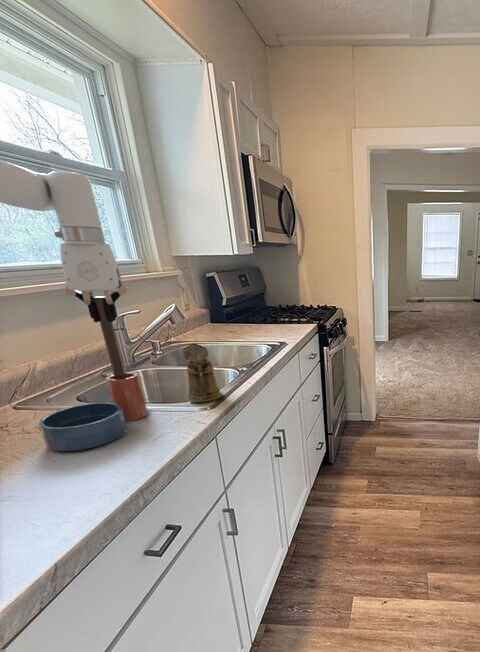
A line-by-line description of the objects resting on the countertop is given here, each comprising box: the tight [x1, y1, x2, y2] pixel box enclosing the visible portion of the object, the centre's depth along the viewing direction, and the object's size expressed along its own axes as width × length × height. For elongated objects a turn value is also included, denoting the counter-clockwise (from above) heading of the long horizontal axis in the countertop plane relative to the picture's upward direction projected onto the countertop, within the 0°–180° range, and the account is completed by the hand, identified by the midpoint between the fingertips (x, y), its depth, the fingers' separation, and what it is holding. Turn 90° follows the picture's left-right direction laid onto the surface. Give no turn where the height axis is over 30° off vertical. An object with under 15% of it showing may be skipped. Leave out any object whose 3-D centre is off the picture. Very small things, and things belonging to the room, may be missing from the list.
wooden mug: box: [182, 343, 222, 404], centre depth 112 cm, size 9×14×18 cm, turn 23°
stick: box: [93, 296, 126, 379], centre depth 97 cm, size 2×2×20 cm
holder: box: [105, 371, 148, 422], centre depth 103 cm, size 7×7×11 cm
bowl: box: [38, 401, 128, 452], centre depth 92 cm, size 15×15×6 cm
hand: (105, 320), depth 96 cm, fingers closed on stick, 2 cm apart
